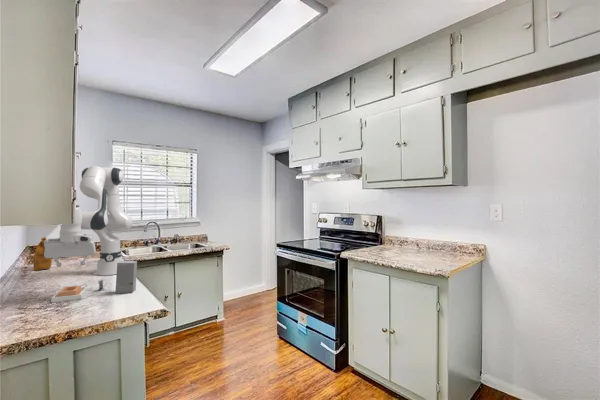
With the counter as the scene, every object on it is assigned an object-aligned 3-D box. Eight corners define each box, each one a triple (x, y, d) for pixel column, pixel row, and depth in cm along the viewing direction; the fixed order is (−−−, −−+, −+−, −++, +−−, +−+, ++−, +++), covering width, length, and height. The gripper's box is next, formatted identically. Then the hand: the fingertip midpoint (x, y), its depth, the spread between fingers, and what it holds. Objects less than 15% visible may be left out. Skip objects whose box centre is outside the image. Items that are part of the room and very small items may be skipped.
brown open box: (75, 298, 144) (75, 290, 144) (58, 299, 141) (58, 292, 141) (81, 291, 155) (81, 284, 155) (66, 292, 152) (66, 285, 152)
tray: (60, 293, 153) (60, 289, 153) (87, 290, 158) (87, 286, 158) (51, 302, 139) (51, 298, 139) (81, 299, 144) (81, 294, 144)
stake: (98, 289, 160) (98, 280, 160) (104, 289, 161) (104, 280, 161) (96, 291, 156) (96, 282, 156) (103, 291, 157) (103, 281, 157)
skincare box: (115, 294, 152) (115, 263, 153) (119, 290, 159) (119, 260, 159) (133, 292, 155) (133, 262, 155) (137, 289, 161) (137, 259, 162)
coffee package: (53, 266, 218) (53, 236, 218) (50, 269, 207) (51, 238, 208) (35, 268, 212) (35, 237, 212) (31, 271, 202) (32, 239, 202)
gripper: (42, 239, 140) (41, 269, 140) (94, 237, 150) (94, 265, 150) (46, 238, 146) (46, 266, 146) (96, 236, 155) (96, 262, 155)
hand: (70, 265), depth 148 cm, fingers open, 8 cm apart
